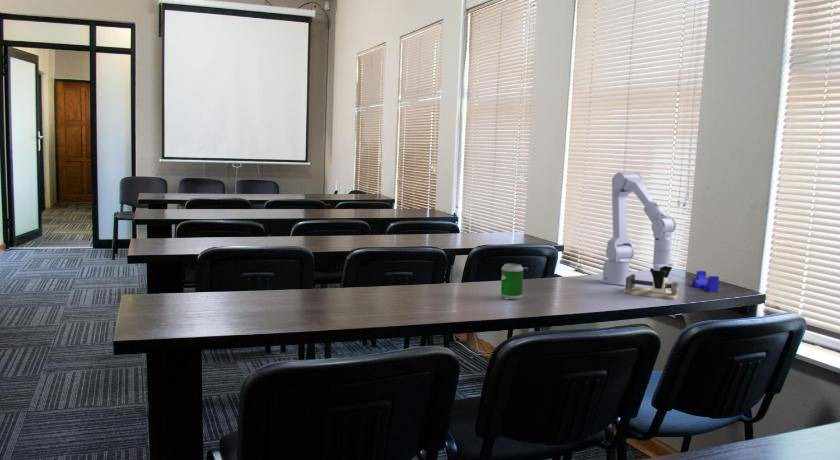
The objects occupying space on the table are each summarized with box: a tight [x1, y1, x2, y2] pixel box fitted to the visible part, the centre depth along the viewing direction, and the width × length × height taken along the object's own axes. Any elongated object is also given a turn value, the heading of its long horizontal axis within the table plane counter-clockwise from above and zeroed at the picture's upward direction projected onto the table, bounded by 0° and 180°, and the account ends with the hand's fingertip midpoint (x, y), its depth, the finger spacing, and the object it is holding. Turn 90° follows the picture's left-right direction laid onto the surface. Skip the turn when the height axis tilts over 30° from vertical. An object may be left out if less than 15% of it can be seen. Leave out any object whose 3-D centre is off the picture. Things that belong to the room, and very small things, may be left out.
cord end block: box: [652, 277, 669, 293], centre depth 239 cm, size 4×5×5 cm
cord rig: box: [623, 273, 681, 301], centre depth 240 cm, size 18×10×6 cm, turn 56°
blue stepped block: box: [691, 270, 720, 293], centre depth 251 cm, size 12×4×6 cm, turn 1°
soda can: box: [500, 263, 524, 300], centre depth 231 cm, size 8×8×12 cm
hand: (660, 287), depth 239 cm, fingers closed on cord end block, 5 cm apart
